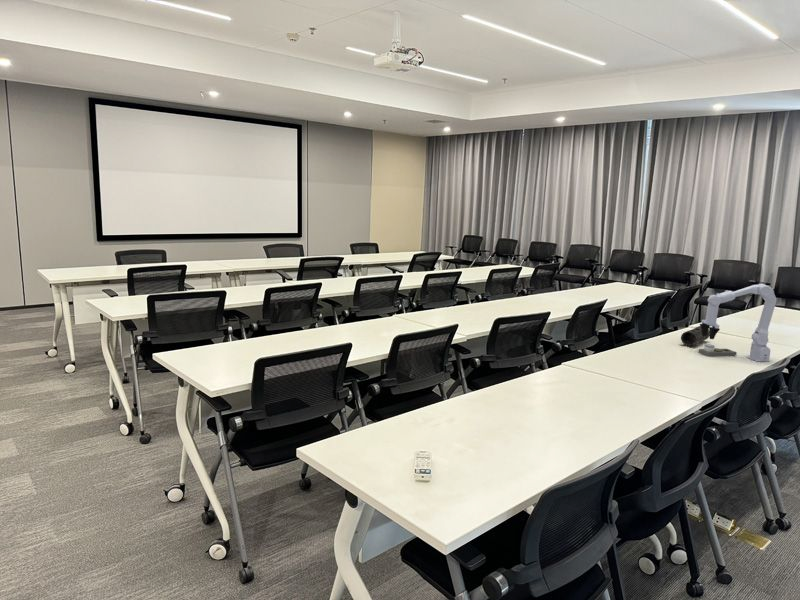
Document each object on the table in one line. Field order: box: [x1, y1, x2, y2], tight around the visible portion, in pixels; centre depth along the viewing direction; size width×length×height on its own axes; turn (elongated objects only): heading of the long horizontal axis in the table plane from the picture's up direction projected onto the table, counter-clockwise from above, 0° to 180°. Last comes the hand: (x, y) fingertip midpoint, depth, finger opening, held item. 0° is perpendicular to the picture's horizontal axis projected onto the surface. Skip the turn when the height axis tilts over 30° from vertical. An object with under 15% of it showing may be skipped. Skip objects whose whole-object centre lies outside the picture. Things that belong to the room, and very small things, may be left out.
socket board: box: [697, 347, 738, 357], centre depth 321 cm, size 8×19×3 cm, turn 100°
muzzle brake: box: [680, 325, 710, 348], centre depth 346 cm, size 10×28×10 cm, turn 134°
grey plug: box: [703, 343, 716, 352], centre depth 320 cm, size 4×4×6 cm
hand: (707, 337), depth 321 cm, fingers open, 7 cm apart
